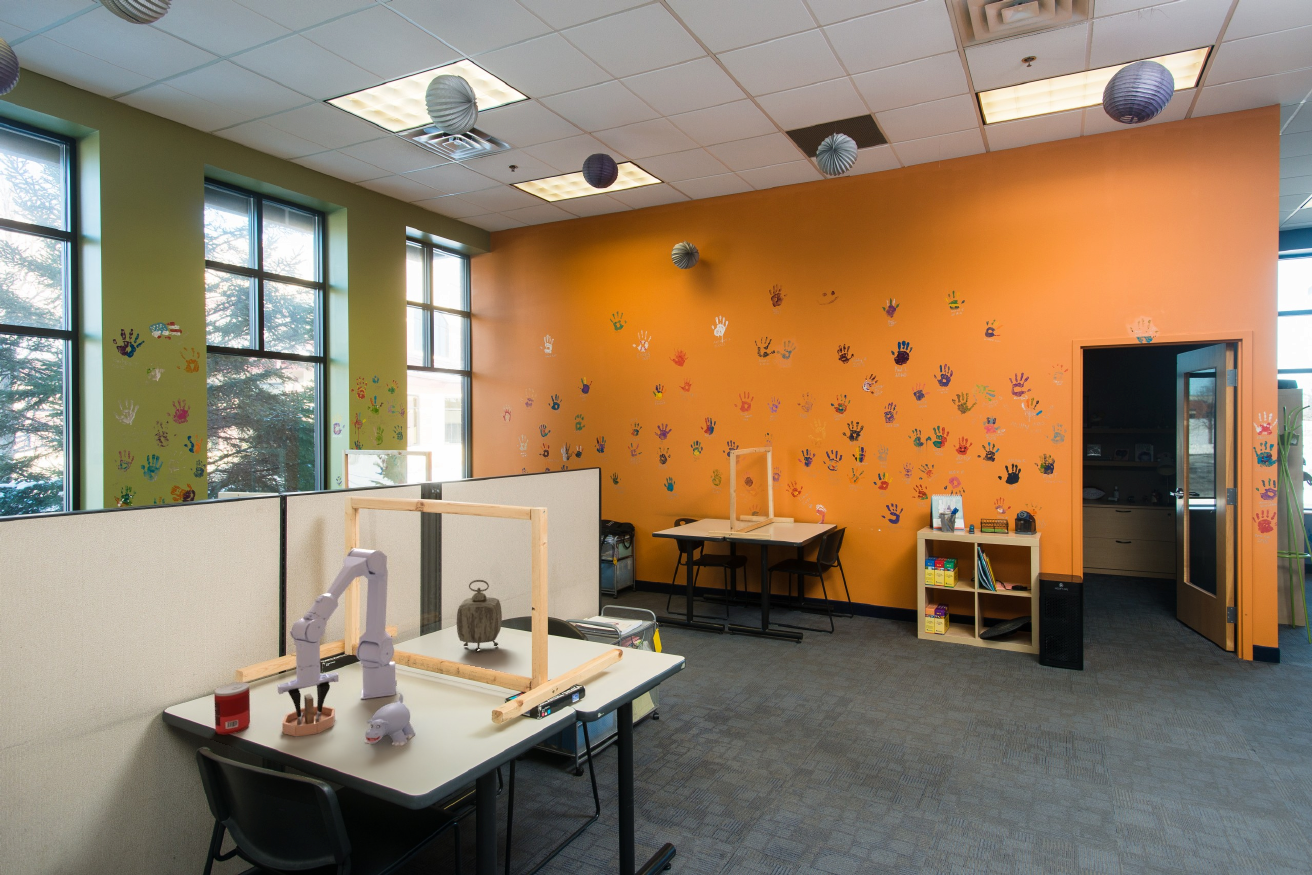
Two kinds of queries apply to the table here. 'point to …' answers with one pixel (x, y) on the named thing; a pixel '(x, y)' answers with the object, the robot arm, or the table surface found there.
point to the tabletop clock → (479, 618)
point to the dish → (300, 727)
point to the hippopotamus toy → (391, 724)
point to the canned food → (232, 708)
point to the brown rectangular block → (309, 708)
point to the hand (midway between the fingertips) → (309, 713)
